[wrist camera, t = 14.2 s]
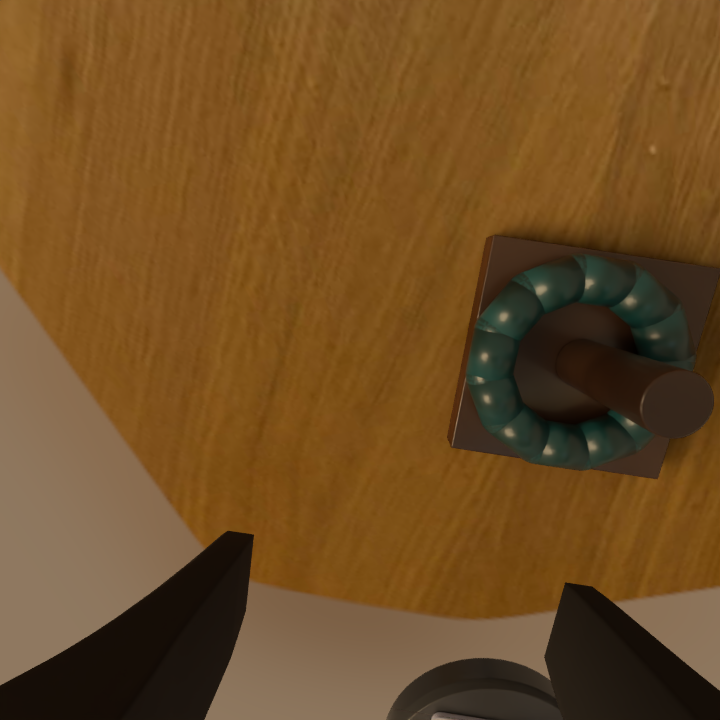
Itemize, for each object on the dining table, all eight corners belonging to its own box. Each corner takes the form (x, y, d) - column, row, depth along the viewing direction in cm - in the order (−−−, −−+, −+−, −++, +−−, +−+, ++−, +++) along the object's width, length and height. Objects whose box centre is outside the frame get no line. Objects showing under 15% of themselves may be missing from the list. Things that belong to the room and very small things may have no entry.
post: (641, 467, 20) (786, 573, 13) (446, 437, 20) (484, 526, 13) (700, 268, 18) (903, 265, 11) (486, 237, 18) (554, 213, 11)
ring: (641, 470, 19) (668, 490, 17) (447, 441, 19) (454, 458, 17) (698, 273, 17) (735, 272, 15) (485, 242, 17) (498, 238, 15)
